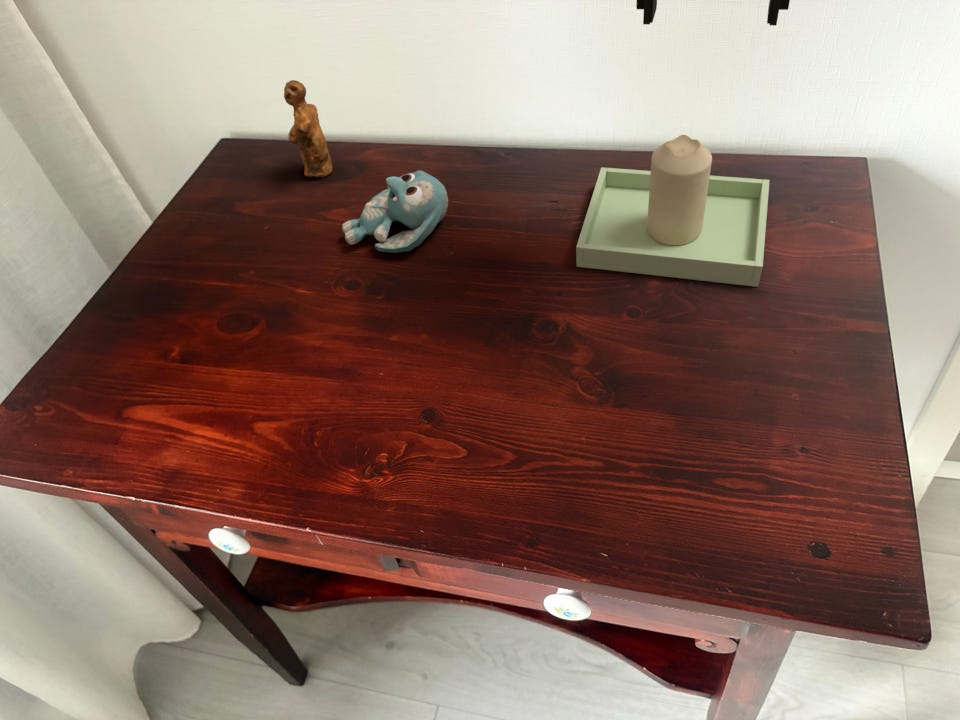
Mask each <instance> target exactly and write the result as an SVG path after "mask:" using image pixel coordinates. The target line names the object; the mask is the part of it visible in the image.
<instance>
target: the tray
mask: <svg viewBox="0 0 960 720" xmlns="http://www.w3.org/2000/svg"><path fill="white" fill-rule="evenodd" d="M650 174H651V170H644V169H643V170H642V169H629V168H616V167H600V170H599V173H598V177H597V180H596V182H595V186H594V189H593V192H592V196H591V198H590V200H589V201H590V202H589V205H588V208H587V211H586V215H585V217H584V221H583V224H582V226H581V231H580V234H579V237H578V240H577V243H576V247H575V255H576V256H575V257H576V259H575V260H576V261H575V262H576V267H578V268H585V269H594V270H604V271H612V272H621V273H630V274H640V275H646V276H647V275H649V276H656V277H657V276H658V277H666V278H677V279H684V280H693V281H702V282H711V283H719V284H729V285H738V286H747V287H756V288H758V287H759V286H760V281H761V276H762V272H763V267H764V257H765V256H764V254H765V243H766V231H767V218H768V217H767V216H768V205H769V193H770V181H771V180H770V179H765V178H764V179H762V178H760V179H759V178H750V177H737V176H736V177H735V176H723V175H710V178H709V185H708V192H707V199H706V206H705V214H704V221H703V227H702V231H701V234H700V235H699V237H698V238H697V239H696V240H694V241H692V242H690V243H688V244H684V245H667V244H663V243H660V242H658V241H656V240H654V239H653V238H652V237H651V236H650V234H649V233H648V229H647V218H648V203H649V189H650Z"/></svg>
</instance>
